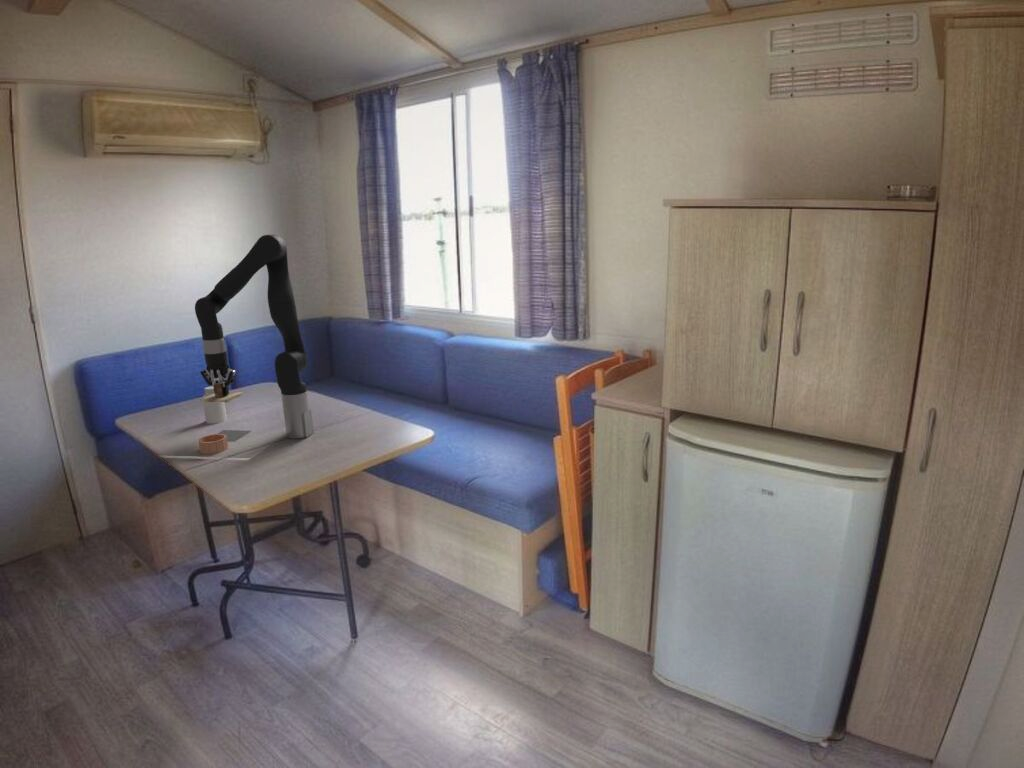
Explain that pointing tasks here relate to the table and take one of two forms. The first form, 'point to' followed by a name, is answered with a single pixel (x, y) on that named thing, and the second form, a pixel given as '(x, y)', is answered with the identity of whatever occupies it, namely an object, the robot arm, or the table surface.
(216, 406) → the pill bottle
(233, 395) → the lid
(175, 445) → the table surface
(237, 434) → the mat
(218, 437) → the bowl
